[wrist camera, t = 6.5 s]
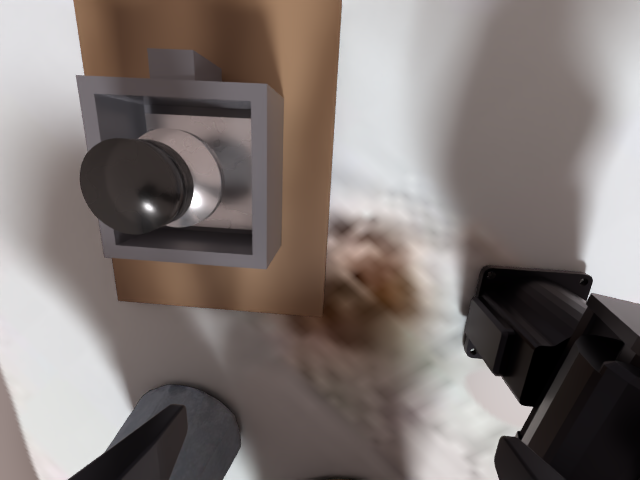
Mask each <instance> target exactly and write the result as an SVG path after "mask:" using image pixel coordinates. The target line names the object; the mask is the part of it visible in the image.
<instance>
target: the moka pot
mask: <svg viewBox="0 0 640 480" xmlns="http://www.w3.org/2000/svg"><path fill="white" fill-rule="evenodd" d="M171 404H181V405H185V406H186V410H187V421H188V431H187V435H186V438H185V440H184V443H183V445H182V448H181V450H180V453H179V456H178V458H177V461H176V463H175V466H174V468H173V471H172V474H171V476H170V479H169V480H223V478H224V476H225V475H226V473H227V471H228V470H229V468H230V466H231V464H232V462H233V460H234V458H235V457H236V455H237V453H238V451H239V449H240V447H241V438H240V433H239V428H238V424H237V421H236V417H235V415H234V414H233V413H232V412H231V411H230V410H229V409H228V408H227V407H226V406H225V405H224V404H223V403H221V402H220V401H219V400H217V399H216V398H214V397H211V396H209V395H208V394H206V393H205V392H203V391H201V390H199V389H195V388H192V387H187V386H182V385H166V386H162V387H160V388H157V389H154V390H150V391H149V392H148V393H146V394H145V395H143V396H142V398H141V399H140V400H139V402H138V404H137V405H136V407H135V408H134V410H133V411H132V413H131V414H130V415H129V417H128V418H127V420H126V421H125V423H124V424H123V426H122V427H121V429H120V430H119V432H118V433H117V435H116V436H115V438H114V439H113V441H112V442H111V444H110V445H109V447H108V448H107V450H109V449H110V448H111V447H113V446H114V445H116V444H117V443H118V442H120V441H121V440H122V439H124V438H125V437H126V436H128V435H129V434H130V433H132V432H133V431H135V430H136V429H137V428H139V427H140V426H141V425H143V424H144V423H145V422H147V421H148V420H150V419H151V418H152V417H154V416H155V415H156V414H158V413H159V412H160V411H162V410H163V409H164V408H166V407H167V406H169V405H171ZM107 450H106V451H107ZM106 451H105V452H106Z"/></svg>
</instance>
